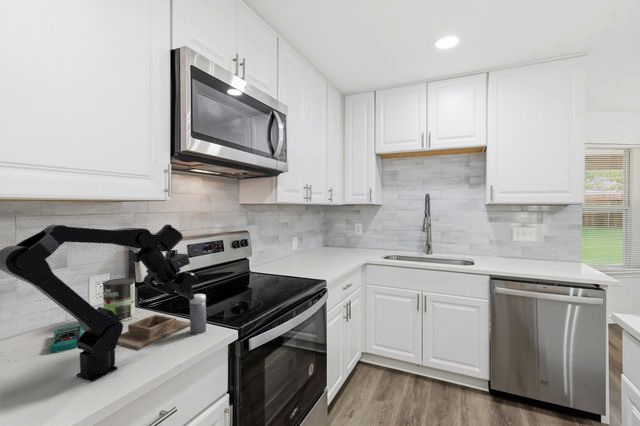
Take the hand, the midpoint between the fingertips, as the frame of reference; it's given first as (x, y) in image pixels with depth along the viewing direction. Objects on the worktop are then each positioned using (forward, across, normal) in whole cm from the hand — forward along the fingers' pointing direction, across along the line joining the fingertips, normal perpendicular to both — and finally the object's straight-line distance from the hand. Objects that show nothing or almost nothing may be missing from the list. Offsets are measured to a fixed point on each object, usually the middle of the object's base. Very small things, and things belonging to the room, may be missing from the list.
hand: (183, 297), depth 101 cm
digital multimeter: (-1, +29, +24) cm, 38 cm away
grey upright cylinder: (+13, -1, +4) cm, 14 cm away
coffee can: (+10, +36, +8) cm, 38 cm away
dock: (+8, +11, +10) cm, 17 cm away
